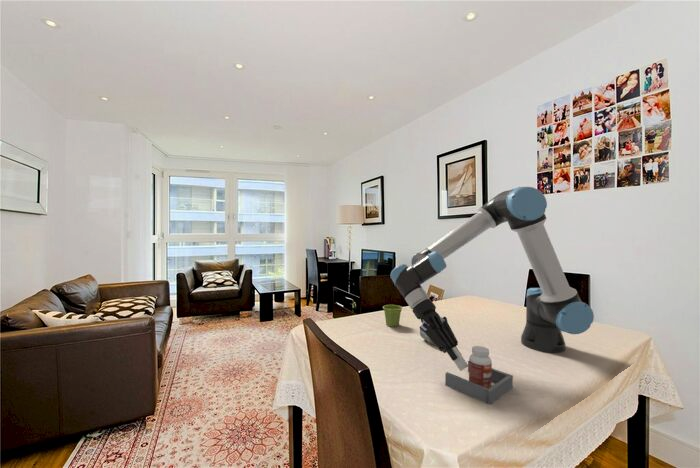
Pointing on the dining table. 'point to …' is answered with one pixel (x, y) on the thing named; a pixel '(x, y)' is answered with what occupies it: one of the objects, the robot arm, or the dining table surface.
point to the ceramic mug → (425, 337)
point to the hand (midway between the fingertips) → (464, 368)
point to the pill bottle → (480, 366)
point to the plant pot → (392, 314)
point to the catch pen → (479, 392)
